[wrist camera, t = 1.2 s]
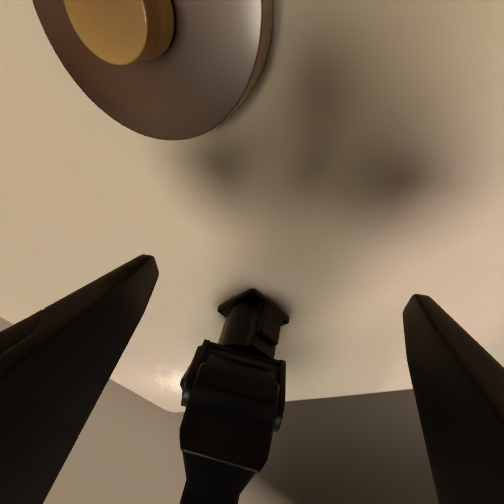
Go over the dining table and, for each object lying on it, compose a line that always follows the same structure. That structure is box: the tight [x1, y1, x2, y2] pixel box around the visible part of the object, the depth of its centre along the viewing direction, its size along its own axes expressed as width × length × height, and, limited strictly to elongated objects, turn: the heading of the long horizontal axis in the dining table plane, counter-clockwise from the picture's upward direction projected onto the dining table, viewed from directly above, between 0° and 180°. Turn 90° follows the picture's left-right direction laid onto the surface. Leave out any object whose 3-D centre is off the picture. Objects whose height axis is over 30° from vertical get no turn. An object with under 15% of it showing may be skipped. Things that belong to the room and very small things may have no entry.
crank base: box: [32, 0, 273, 140], centre depth 14 cm, size 12×12×4 cm
